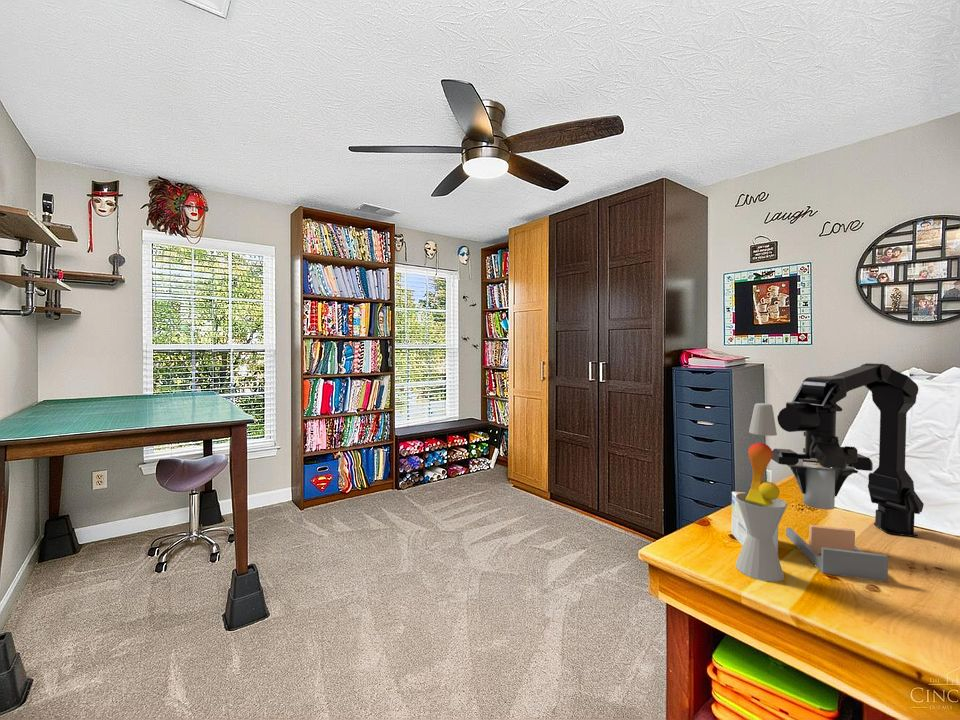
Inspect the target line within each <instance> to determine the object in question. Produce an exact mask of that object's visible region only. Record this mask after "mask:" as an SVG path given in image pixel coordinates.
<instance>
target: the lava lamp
mask: <svg viewBox="0 0 960 720" xmlns="http://www.w3.org/2000/svg"><path fill="white" fill-rule="evenodd" d="M777 432H778V431H777V427H776V421H775V414H774V409H773V404H770V403H762V402H760V403H759V402H758V403H755V404H754V405H753V411H752V417H751V421H750V425H749V430H748V433H750V434H752V435H757V436H769V437H771V436H775V437H776V436H777V435H778V433H777ZM772 451H773V449H772V448H771V447H770V446H769V445H768V444H766V443H763V442H755V443H753V444H751V445H750V446H749V448H748V450H747V452H748V454H747V455H748V458H749V460H750V465H751V469H752V481H751V485H750V489H749V491H748V492H741V493H740V494H737V495H736V498H737V501H738V504H739V507H740V510H741V513H742V516H743V519H744V522H745V525H746V528H747V531H748V534H747V537H746V539H745V542H744V544H743V546H742V547H741V550H740V552H739V555H738V557H737V559H736V563H735V565H736V567H735V569H736V568H737V569H738V570H739V571H738V570H737V569H736V570H737V571H738V572H740V573H741V572H742V573H741V574H743V575H744V574H745V576H747V577H749V578H752V579H755V580H758V579H759V580H758V581H764V582H769V583H770V582H772V583H775V582H781V581H783V580H784V579H785V575H784V571H783V569H782V565H781V562H780V558H779V555H778V554H777V552H776V549H775V545H774V542H773V539H772V537H773V535H774V533H775V531H776V529H777V526H778V527H779V525H780V522H781V520H782V517H783V515H784V514H785V511H786V509H787V507H788V503H787V502H786V501H785V500H783V499H781V498H779V496H780V493H781V492H780V489H779V487H778V486H777V484H776V483H773V482H771V481H764V475H765V472H766V469H767V468H768V465H769V464H770V462H771V460H772V456H773V452H772ZM735 565H734V566H735Z"/></svg>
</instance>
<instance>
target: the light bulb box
mask: <svg viewBox="0 0 960 720" xmlns="http://www.w3.org/2000/svg"><path fill="white" fill-rule="evenodd" d="M740 493H742V492H741V491H740V492H739V491H731V524H730V525H731V529H730V530H731V531H730V533H731V535H732V536H733V537H734V538H735V539H736V540H737V542H739V544H740V545H741V546H742V547H743V544H744V542H745V539H746V537H747V534H748V531H747V528H746V525H745V522H744V519H743V516H742V513H741V510H740V507H739V504H738V501H737V498H736V495H737V494H740ZM772 539H773V542H774V545H775V549H776V552H777V555H778V554H779V525H778V526H777V529H776V531H775V533H774V535H773V537H772Z"/></svg>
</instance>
